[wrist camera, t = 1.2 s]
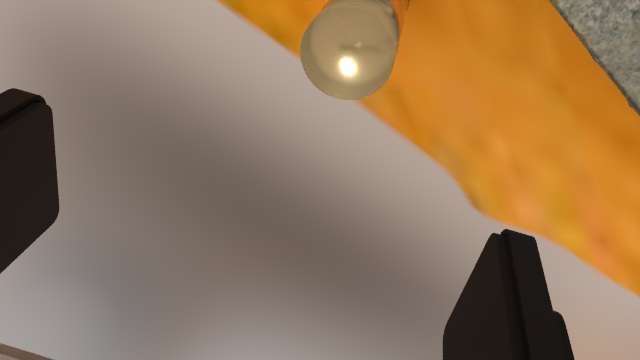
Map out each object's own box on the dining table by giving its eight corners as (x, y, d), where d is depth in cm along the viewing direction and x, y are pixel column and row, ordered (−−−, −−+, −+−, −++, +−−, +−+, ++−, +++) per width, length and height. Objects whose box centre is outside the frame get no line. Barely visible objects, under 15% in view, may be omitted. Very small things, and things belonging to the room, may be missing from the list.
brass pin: (417, -26, 27) (406, 21, 19) (397, 43, 29) (380, 110, 21) (348, -44, 27) (310, -5, 19) (332, 26, 29) (292, 86, 21)
